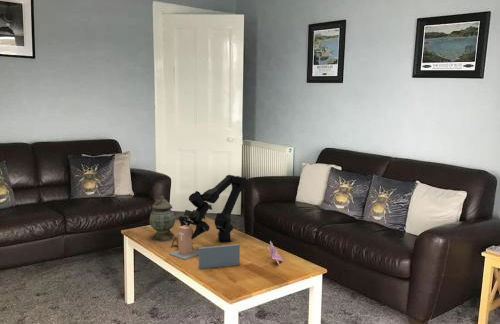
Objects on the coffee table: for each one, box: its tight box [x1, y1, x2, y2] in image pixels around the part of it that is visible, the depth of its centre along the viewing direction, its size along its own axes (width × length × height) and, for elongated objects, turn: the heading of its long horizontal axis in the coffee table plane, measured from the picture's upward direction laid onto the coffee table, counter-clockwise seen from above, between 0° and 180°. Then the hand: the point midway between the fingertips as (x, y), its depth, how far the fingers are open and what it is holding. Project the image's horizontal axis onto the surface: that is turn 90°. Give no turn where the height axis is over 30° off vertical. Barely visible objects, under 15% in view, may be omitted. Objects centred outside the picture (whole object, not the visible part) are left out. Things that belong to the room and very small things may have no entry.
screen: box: [198, 243, 241, 270], centre depth 221 cm, size 20×2×10 cm, turn 107°
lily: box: [265, 240, 283, 266], centre depth 227 cm, size 12×12×10 cm
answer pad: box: [168, 249, 199, 261], centre depth 238 cm, size 12×12×1 cm
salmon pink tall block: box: [177, 225, 193, 255], centre depth 237 cm, size 5×5×14 cm
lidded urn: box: [149, 195, 176, 242], centre depth 262 cm, size 14×14×25 cm
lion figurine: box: [170, 227, 195, 248], centre depth 251 cm, size 15×5×9 cm, turn 134°
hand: (185, 237), depth 237 cm, fingers open, 9 cm apart
